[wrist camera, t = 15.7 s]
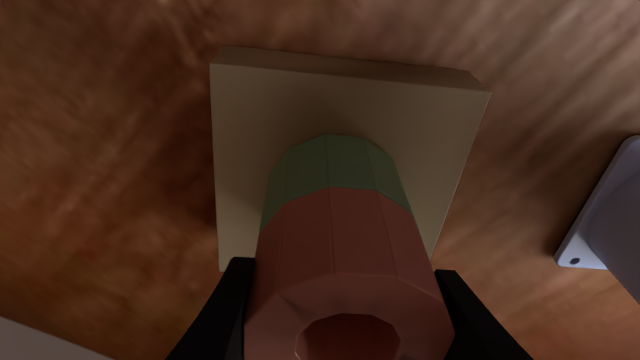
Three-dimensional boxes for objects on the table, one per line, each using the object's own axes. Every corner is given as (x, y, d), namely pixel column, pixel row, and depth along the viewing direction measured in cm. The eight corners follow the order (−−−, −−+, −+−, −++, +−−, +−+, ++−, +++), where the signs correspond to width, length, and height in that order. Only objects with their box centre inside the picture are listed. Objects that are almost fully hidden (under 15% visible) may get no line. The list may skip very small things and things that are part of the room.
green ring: (385, 247, 18) (400, 310, 15) (265, 238, 17) (256, 301, 14) (414, 141, 15) (440, 193, 12) (270, 127, 14) (260, 178, 11)
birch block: (468, 70, 16) (492, 92, 14) (410, 249, 21) (421, 284, 19) (222, 44, 15) (208, 62, 13) (227, 236, 20) (218, 271, 18)
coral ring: (440, 194, 12) (483, 282, 9) (400, 310, 15) (422, 405, 12) (260, 180, 11) (243, 267, 8) (256, 302, 14) (243, 398, 11)
